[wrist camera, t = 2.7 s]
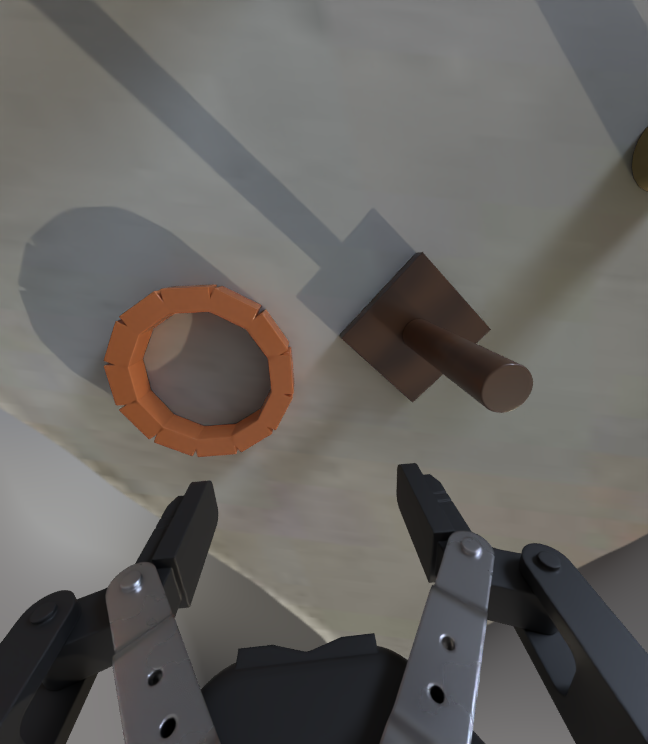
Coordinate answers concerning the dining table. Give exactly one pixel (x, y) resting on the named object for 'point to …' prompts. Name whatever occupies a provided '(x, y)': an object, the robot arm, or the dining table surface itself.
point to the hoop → (153, 413)
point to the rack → (433, 340)
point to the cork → (641, 161)
